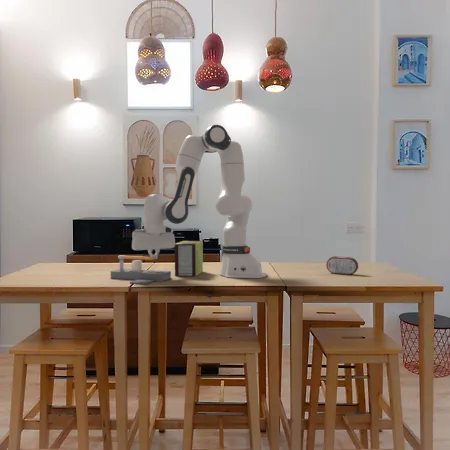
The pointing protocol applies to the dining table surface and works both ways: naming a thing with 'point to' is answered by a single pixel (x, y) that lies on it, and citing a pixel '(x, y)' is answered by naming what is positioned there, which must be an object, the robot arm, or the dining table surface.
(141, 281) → the mat
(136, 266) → the plug
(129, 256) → the clip
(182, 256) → the protein box
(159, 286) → the dining table surface
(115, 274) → the grey base with peg
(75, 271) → the dining table surface
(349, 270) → the tin
